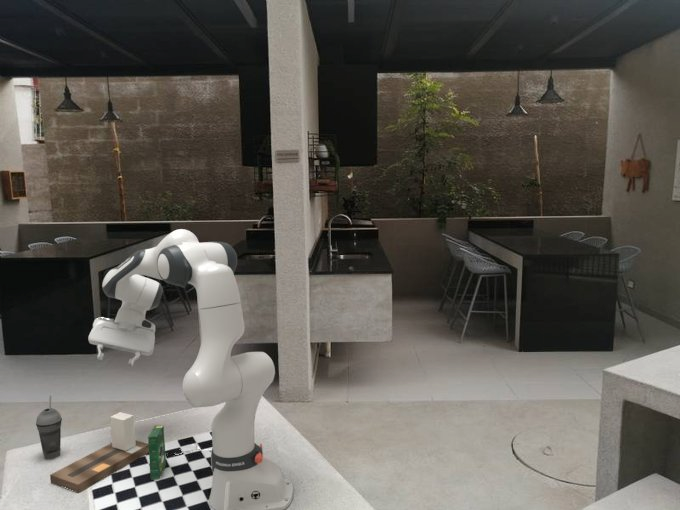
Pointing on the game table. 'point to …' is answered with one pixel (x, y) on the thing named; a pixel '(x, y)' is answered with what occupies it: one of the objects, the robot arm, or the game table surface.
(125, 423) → the switch tab
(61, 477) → the switch board
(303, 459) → the game table surface
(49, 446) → the beverage cup
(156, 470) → the coffee box
